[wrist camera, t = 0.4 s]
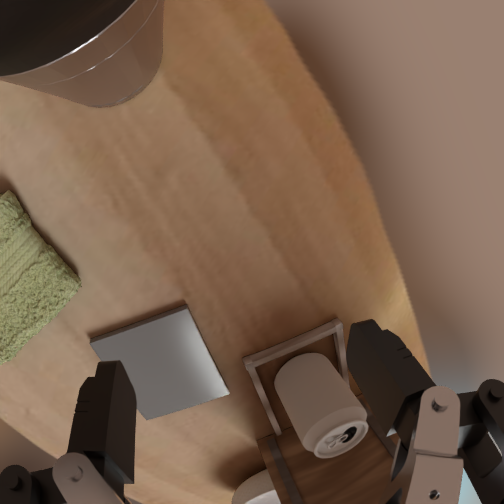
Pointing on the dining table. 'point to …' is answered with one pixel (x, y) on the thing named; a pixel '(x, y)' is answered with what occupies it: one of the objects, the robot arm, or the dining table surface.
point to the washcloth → (27, 279)
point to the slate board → (164, 362)
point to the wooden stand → (306, 462)
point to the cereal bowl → (256, 490)
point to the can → (320, 405)
